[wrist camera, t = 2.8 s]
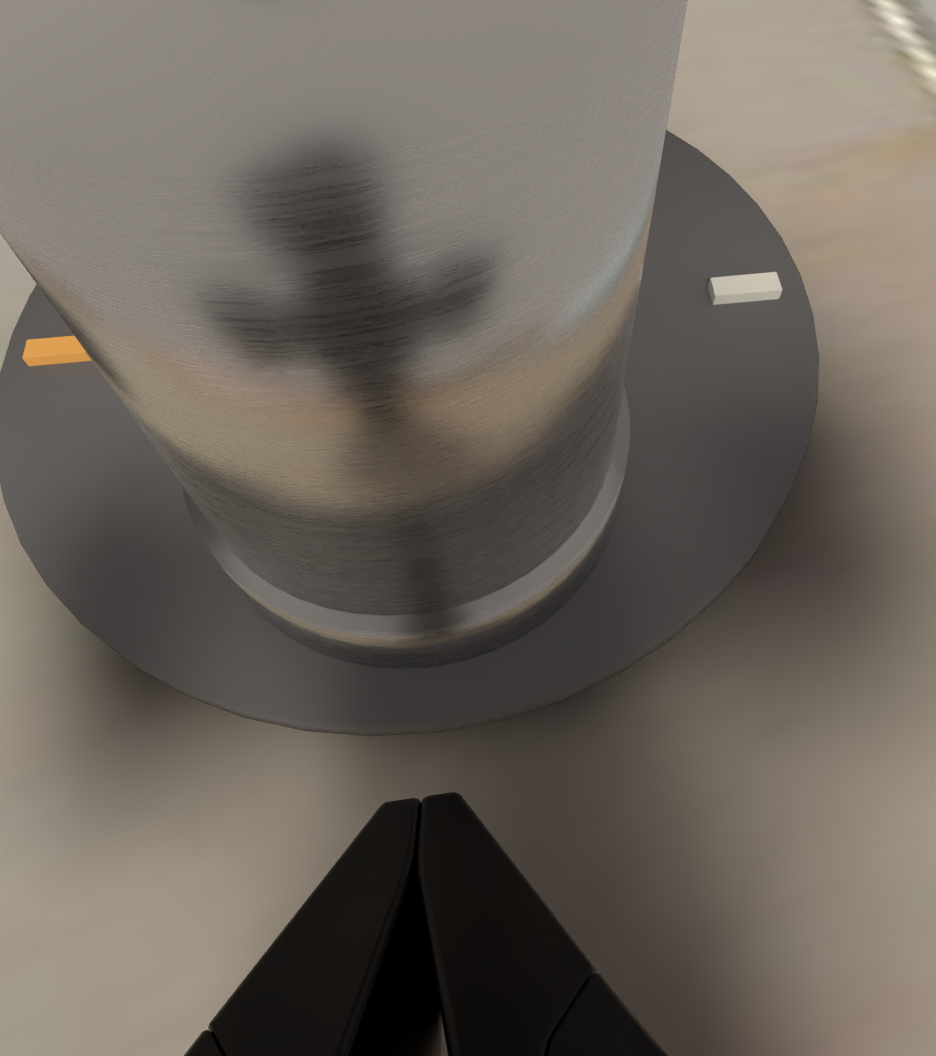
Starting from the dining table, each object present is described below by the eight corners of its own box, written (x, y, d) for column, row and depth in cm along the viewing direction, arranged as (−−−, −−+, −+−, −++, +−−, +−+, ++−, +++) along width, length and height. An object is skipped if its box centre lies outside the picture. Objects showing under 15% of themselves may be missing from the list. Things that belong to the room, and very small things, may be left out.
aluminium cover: (705, 538, 17) (1009, -191, 6) (307, 753, 15) (-198, 268, 5) (492, 269, 21) (456, -450, 10) (161, 417, 19) (-289, -253, 9)
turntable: (998, 459, 18) (1025, 430, 17) (150, 937, 15) (124, 935, 14) (539, 26, 27) (539, -9, 26) (-56, 258, 23) (-81, 227, 22)
